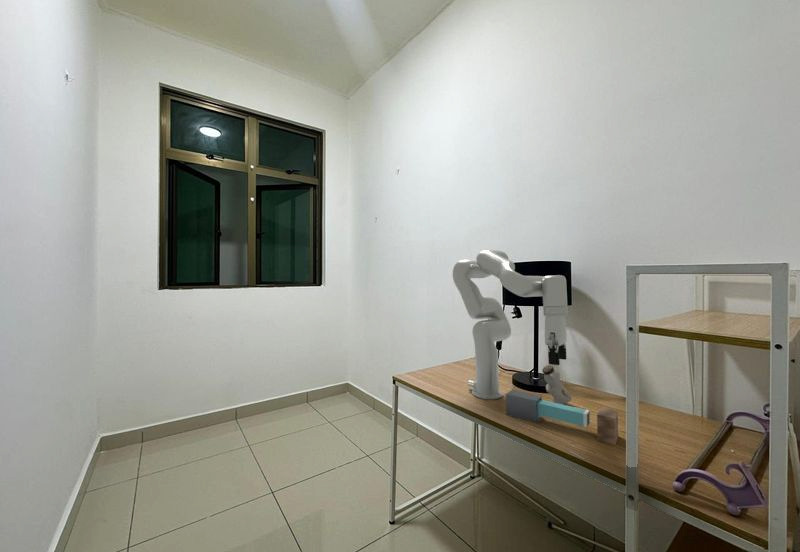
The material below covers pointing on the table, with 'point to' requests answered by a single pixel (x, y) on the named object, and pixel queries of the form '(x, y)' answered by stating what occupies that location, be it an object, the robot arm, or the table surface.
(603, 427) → the brown rectangular block
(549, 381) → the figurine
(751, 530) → the table surface
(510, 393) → the sleeve
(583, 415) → the light blue long bar
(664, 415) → the table surface
